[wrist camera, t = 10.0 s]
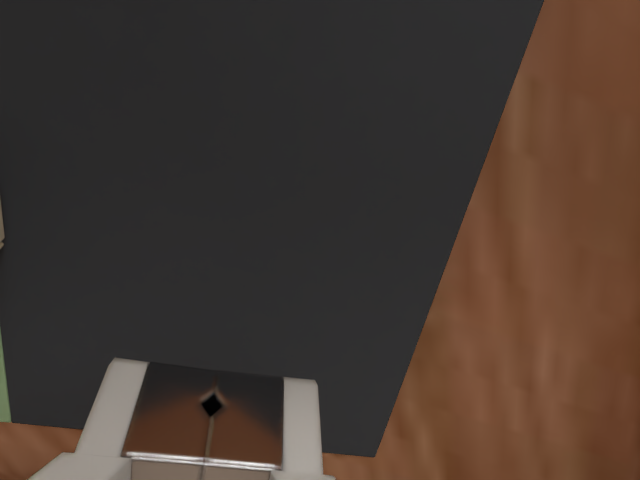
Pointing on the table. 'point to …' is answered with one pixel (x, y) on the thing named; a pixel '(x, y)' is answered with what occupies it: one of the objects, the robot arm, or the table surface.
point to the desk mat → (238, 189)
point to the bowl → (1, 228)
